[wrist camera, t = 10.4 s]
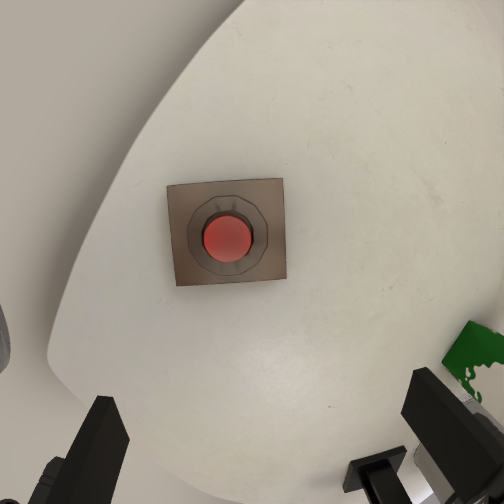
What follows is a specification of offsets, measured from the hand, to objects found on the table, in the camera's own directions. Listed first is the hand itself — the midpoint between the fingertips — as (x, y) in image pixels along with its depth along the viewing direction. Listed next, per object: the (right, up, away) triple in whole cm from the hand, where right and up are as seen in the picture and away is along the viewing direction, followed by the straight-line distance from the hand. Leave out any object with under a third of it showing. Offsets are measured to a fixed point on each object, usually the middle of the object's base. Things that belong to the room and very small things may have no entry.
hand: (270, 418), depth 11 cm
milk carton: (+31, -7, +23) cm, 39 cm away
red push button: (-3, +8, +14) cm, 16 cm away
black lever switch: (+20, -31, +27) cm, 46 cm away
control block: (-3, +9, +17) cm, 20 cm away
